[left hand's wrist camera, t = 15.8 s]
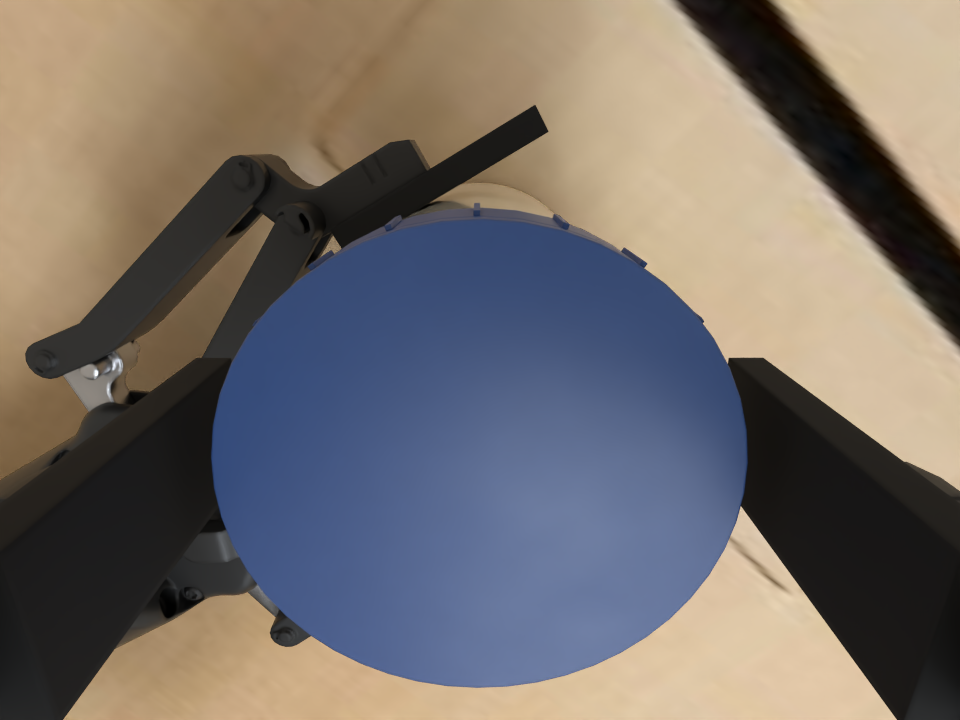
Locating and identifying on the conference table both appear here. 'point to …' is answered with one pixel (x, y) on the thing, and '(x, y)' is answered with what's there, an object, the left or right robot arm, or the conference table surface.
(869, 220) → the conference table surface
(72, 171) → the conference table surface
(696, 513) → the lid
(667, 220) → the conference table surface
